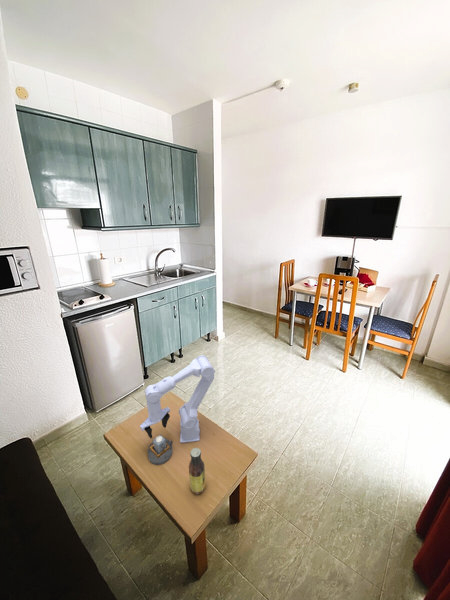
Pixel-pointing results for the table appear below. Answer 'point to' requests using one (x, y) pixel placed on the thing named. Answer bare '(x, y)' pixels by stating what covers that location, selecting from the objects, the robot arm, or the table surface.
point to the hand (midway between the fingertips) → (157, 431)
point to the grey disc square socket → (161, 457)
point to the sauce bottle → (196, 472)
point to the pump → (159, 444)
